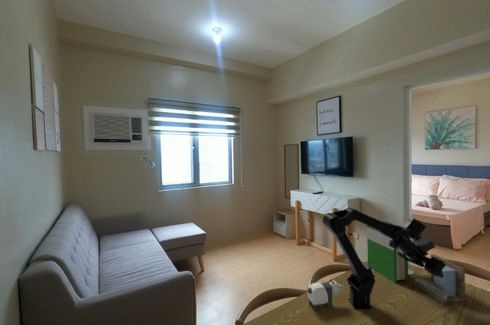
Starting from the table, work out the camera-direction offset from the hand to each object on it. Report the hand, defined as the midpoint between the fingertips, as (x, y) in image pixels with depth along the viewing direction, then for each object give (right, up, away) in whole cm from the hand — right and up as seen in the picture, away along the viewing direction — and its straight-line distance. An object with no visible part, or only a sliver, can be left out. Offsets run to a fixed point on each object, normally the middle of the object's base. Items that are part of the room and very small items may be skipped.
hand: (432, 271), depth 101 cm
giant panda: (-46, -13, -2) cm, 47 cm away
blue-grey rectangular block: (+6, -9, +1) cm, 11 cm away
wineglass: (+3, -10, +22) cm, 24 cm away
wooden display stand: (+5, -10, +3) cm, 12 cm away
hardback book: (-7, -10, +21) cm, 24 cm away
